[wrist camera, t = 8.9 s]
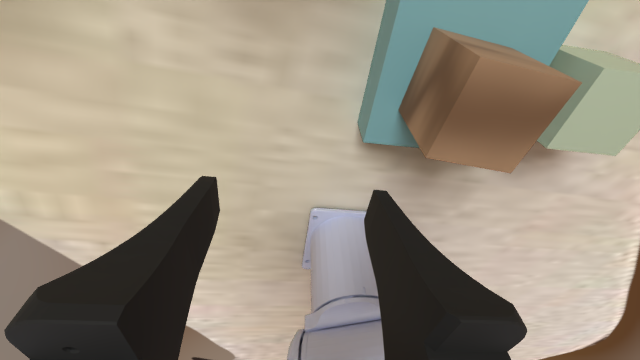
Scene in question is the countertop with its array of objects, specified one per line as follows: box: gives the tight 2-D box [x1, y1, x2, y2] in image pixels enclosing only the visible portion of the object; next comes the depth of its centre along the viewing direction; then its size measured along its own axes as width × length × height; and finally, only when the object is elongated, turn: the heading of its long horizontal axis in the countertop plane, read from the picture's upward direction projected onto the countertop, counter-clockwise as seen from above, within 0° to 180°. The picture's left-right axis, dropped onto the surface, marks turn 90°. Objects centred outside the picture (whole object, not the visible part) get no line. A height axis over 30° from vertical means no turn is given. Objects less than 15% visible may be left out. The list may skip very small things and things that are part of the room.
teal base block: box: [358, 0, 589, 148], centre depth 19 cm, size 10×10×4 cm
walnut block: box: [398, 27, 582, 173], centre depth 16 cm, size 5×5×6 cm
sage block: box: [537, 45, 640, 156], centre depth 19 cm, size 5×5×6 cm
